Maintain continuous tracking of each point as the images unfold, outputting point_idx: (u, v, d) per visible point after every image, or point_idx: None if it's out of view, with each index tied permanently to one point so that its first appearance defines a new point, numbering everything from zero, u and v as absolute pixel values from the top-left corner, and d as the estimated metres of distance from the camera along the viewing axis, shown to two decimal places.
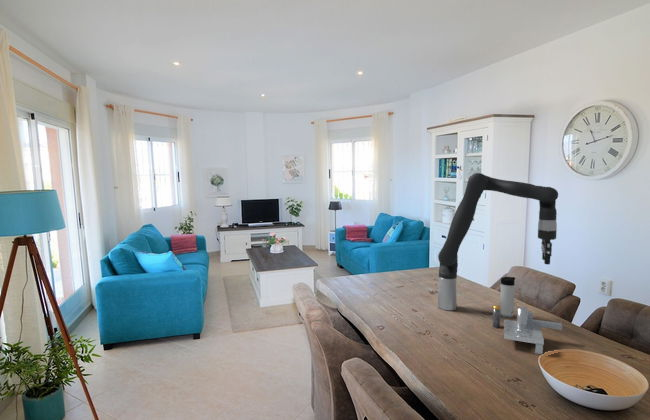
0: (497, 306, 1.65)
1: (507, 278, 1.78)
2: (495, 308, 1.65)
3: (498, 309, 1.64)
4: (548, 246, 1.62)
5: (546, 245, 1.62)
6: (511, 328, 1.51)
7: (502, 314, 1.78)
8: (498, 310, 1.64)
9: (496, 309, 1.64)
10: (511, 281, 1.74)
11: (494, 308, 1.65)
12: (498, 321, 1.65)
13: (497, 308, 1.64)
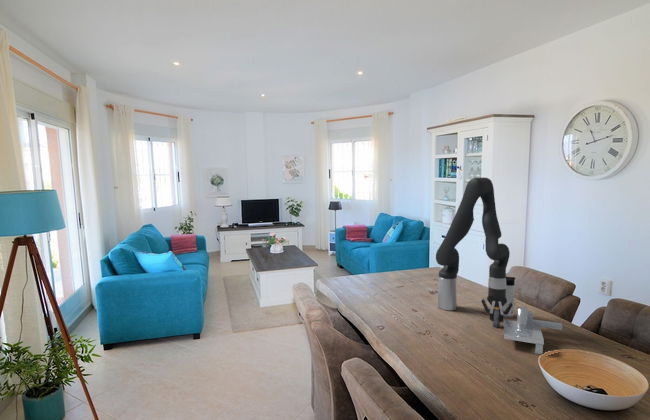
0: None
1: (507, 278, 1.78)
2: (495, 308, 1.65)
3: (498, 309, 1.64)
4: None
5: (512, 305, 1.62)
6: (511, 328, 1.51)
7: None
8: (498, 310, 1.64)
9: (496, 309, 1.64)
10: (511, 281, 1.74)
11: (494, 308, 1.65)
12: (498, 321, 1.65)
13: (497, 308, 1.64)
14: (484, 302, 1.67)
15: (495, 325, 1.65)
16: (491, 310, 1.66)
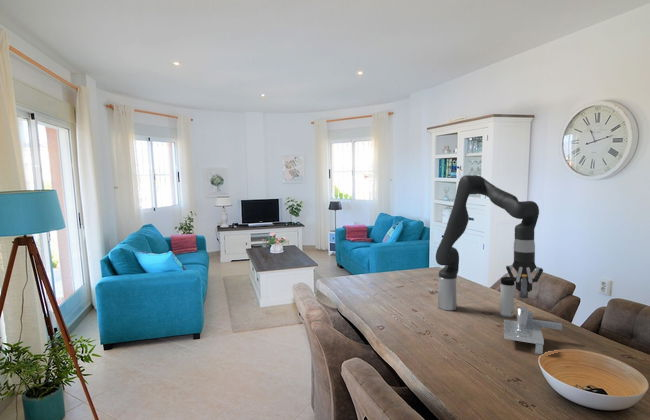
0: None
1: (507, 278, 1.78)
2: (522, 275, 1.43)
3: (526, 276, 1.43)
4: None
5: (542, 271, 1.41)
6: (511, 328, 1.51)
7: (502, 314, 1.78)
8: (526, 277, 1.43)
9: (524, 276, 1.43)
10: (511, 281, 1.74)
11: (521, 275, 1.44)
12: (526, 290, 1.43)
13: (525, 275, 1.43)
14: (509, 269, 1.45)
15: (523, 295, 1.44)
16: (518, 278, 1.44)
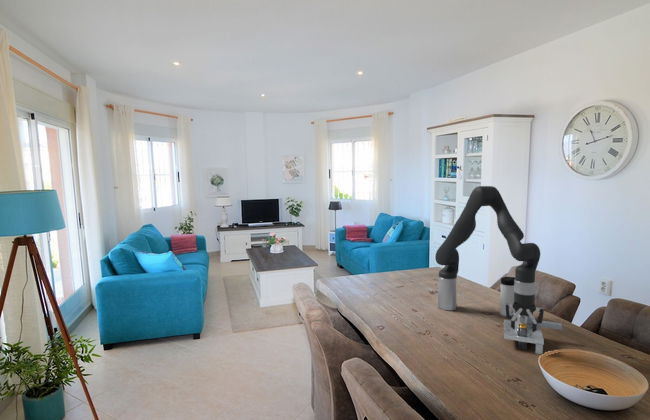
0: (523, 324, 1.45)
1: (507, 278, 1.78)
2: (521, 327, 1.44)
3: (525, 328, 1.44)
4: None
5: None
6: (511, 328, 1.51)
7: (502, 314, 1.78)
8: (525, 329, 1.44)
9: (523, 328, 1.44)
10: (511, 281, 1.74)
11: (520, 327, 1.45)
12: (525, 342, 1.45)
13: (524, 327, 1.44)
14: (508, 308, 1.46)
15: (521, 346, 1.45)
16: (514, 317, 1.45)
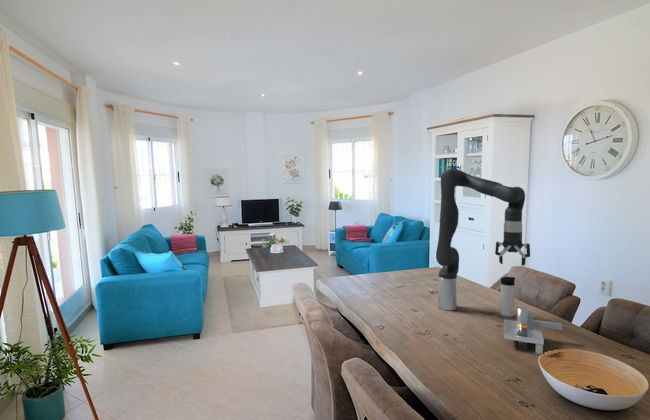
0: (524, 325, 1.45)
1: (507, 278, 1.78)
2: (522, 327, 1.44)
3: (525, 328, 1.44)
4: (529, 246, 1.59)
5: (529, 246, 1.58)
6: (511, 328, 1.51)
7: (502, 314, 1.78)
8: (525, 329, 1.44)
9: (523, 328, 1.44)
10: (511, 281, 1.74)
11: (520, 327, 1.45)
12: (525, 342, 1.45)
13: (524, 327, 1.44)
14: (498, 245, 1.63)
15: (521, 346, 1.45)
16: (502, 253, 1.63)
